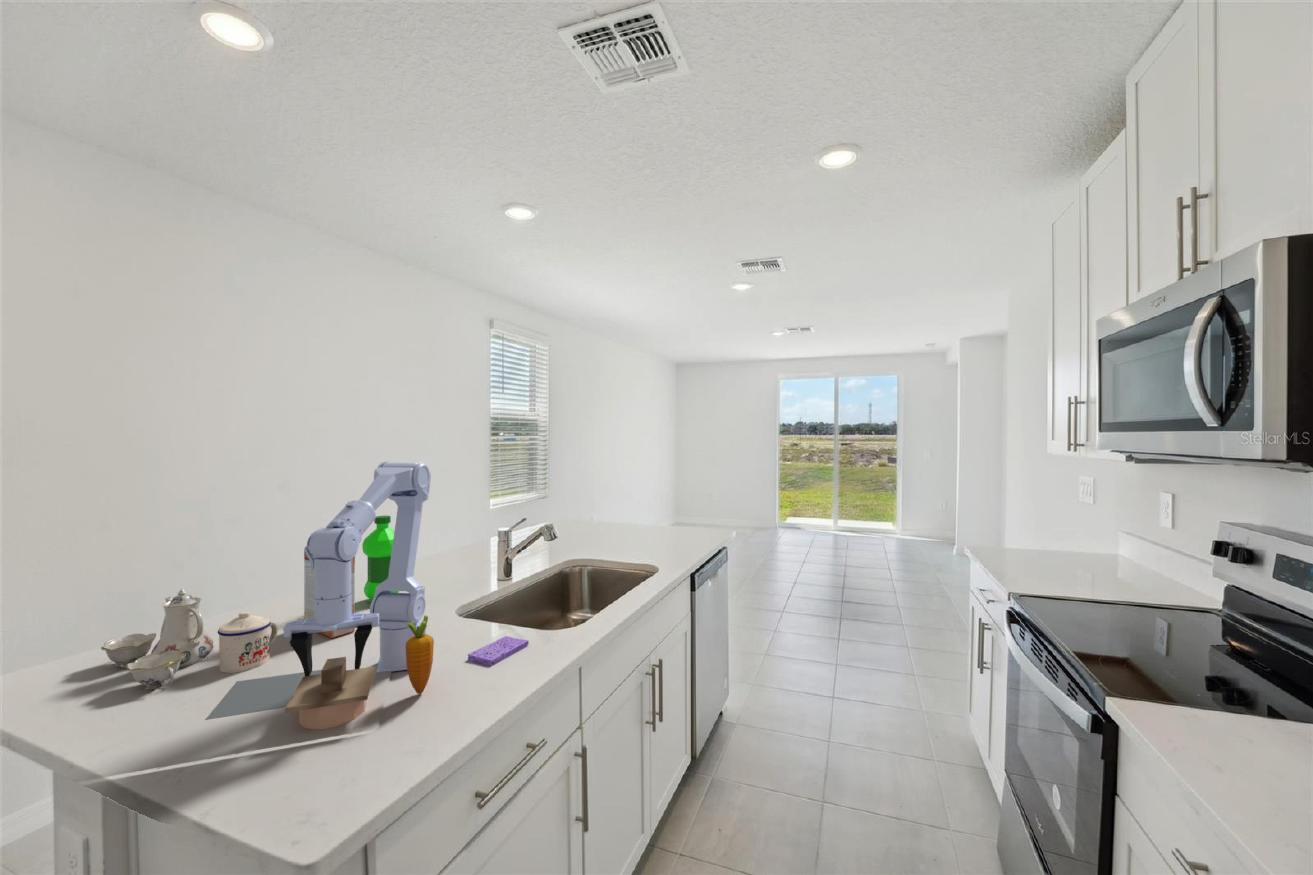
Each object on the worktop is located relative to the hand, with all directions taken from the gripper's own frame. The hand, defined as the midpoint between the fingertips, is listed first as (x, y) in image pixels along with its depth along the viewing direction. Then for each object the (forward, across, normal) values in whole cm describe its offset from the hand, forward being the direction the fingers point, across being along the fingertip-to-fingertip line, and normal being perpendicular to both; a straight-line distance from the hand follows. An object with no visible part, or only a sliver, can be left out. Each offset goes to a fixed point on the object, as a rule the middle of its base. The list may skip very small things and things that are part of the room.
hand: (333, 670), depth 96 cm
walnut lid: (+4, 0, 0) cm, 4 cm away
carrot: (+8, +14, +3) cm, 17 cm away
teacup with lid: (+8, -21, +31) cm, 38 cm away
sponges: (+9, +30, +18) cm, 36 cm away
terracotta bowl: (+8, 0, 0) cm, 8 cm away
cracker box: (+8, -9, +47) cm, 49 cm away
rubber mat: (+8, -13, +13) cm, 20 cm away
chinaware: (+9, -37, +35) cm, 52 cm away
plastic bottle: (+8, +1, +68) cm, 69 cm away
